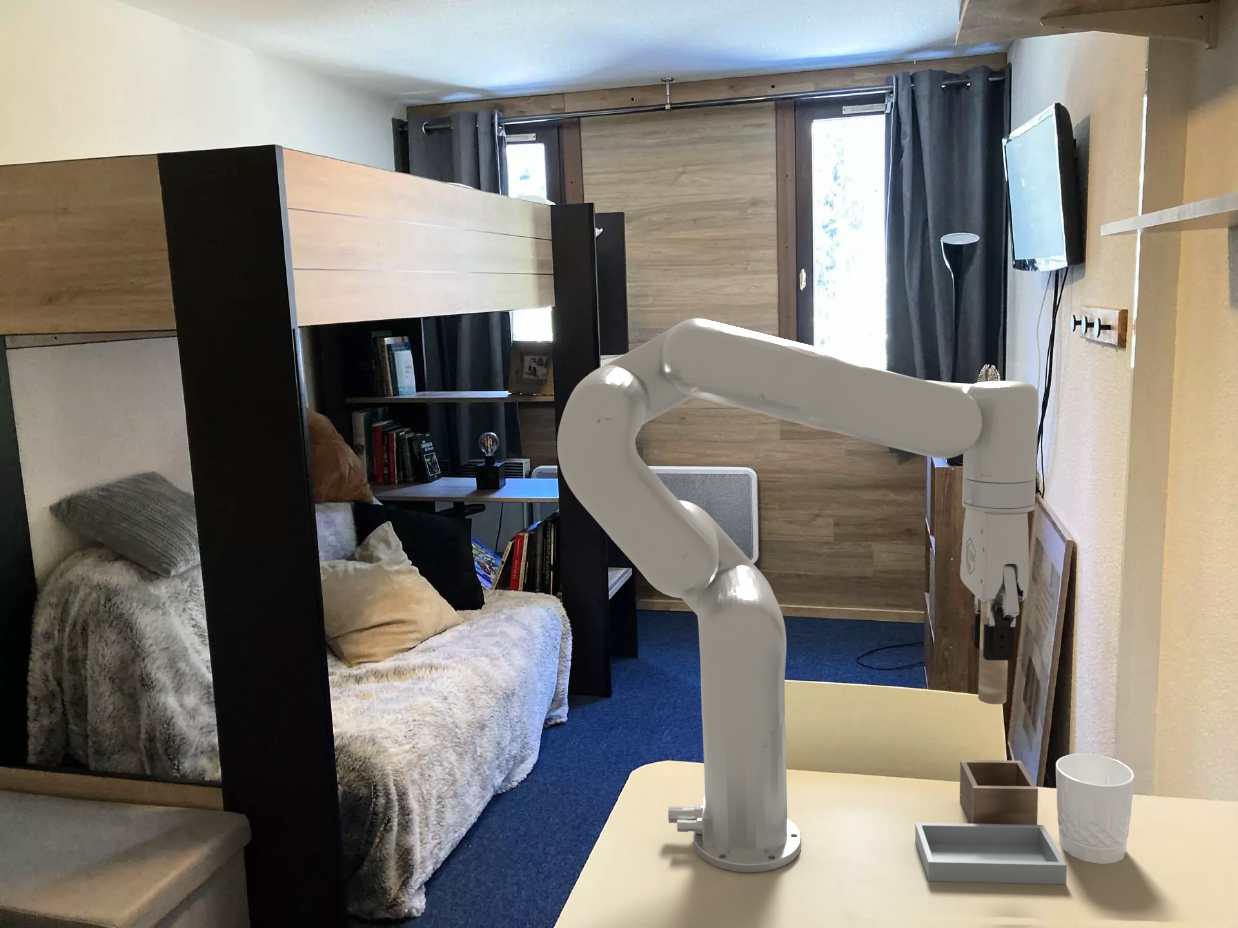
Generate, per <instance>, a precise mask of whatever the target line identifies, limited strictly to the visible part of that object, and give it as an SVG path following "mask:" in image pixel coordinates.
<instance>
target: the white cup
mask: <svg viewBox="0 0 1238 928" xmlns="http://www.w3.org/2000/svg"><path fill="white" fill-rule="evenodd" d="M1055 777H1056V778H1055V781H1056V783H1055V784H1056V785H1055V786H1056V811H1057V824H1058V825H1057V826H1058V842H1059V845H1060V847H1061V849H1062V850H1063V851H1065V852H1066V853H1067V854H1068V855H1069V856H1071V857H1074V858H1076V859H1077V860H1081V861H1083V862H1087V863H1094V864H1099V865H1104V864H1115V863H1117V862H1120V861H1122V860H1124V858H1125V856H1126V853H1127V843H1128V837H1129V834H1130V822H1131V816H1132V815H1131V814H1132V804H1133V795H1134V793H1133V792H1134V782H1135V773H1134V772H1133V770H1132V769H1131V768H1130V766H1128V765H1126V763H1124V762H1121V761H1119V760H1117V759H1114V758H1112V757H1108V756H1105V755H1099V754H1094V753H1073V754H1067V755H1065V756H1062V757H1060V758H1058V760H1056V762H1055Z"/></svg>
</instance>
